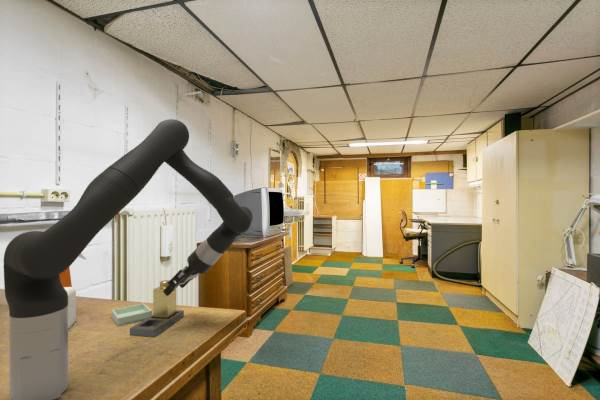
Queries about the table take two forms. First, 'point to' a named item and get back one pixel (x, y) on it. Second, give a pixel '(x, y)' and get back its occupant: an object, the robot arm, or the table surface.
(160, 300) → the gold perfume bottle
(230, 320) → the table surface
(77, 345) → the table surface
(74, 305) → the photo printer
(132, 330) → the grey metal holder frame
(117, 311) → the parts tray
